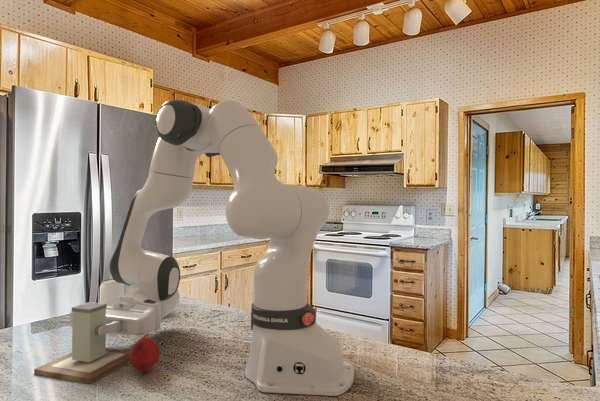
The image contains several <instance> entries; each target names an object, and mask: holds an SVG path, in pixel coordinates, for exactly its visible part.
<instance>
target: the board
mask: <svg viewBox="0 0 600 401" xmlns="http://www.w3.org/2000/svg"><path fill="white" fill-rule="evenodd" d="M130 351H131V350H125V349H118V348H111V347H106V354H105V355H103V356H101V357H99V358H97V359H95V360H93V361H91V362H85V361H79V360H72V352H70V353H68V354H66V355H63V356H61V357H58V358H57V359H54V360H52V361H50V362H48V363H45V364H42V365H40V366H39V367H35V368H34V369H33V371H34V372H33V374H34V375H38V376H42V375H43V376H44V377H48V376H49V377H50V378H54V379H55V378H56V379H60V380H61V379H62V380H67V381H72V382H78V383H84V384H93V383H94V382H96V381H97V380H99V379H101V378H103V377H105V376H107V375H108V374H110V373H112V372H114V371H116V370H117V369H120V368H121V367H123V366H125V365H126V364H128V363H130V359H129V354H130Z"/></svg>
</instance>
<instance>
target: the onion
mask: <svg viewBox="0 0 600 401" xmlns="http://www.w3.org/2000/svg"><path fill="white" fill-rule="evenodd" d="M129 351H130V354H129V359H130V362H129V363H130V365H131V367H132V368H133V369H134V370H136V371H138V372H140V373H143V374H146V373H148V372H149V371H150V370H151V369H153V367H154V366H155V365H156V364H158V361H159V359H160V355H161V352H160V351H161V350H160V346H159V345H158V344H157V342H156V341H155V340H153V339H151V338H150V334H149V333H147V334H144V335H141V338H140V339H138V340H137V341H136V342H135V343H133V345H132V347H131V349H130V350H129Z"/></svg>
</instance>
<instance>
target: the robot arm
mask: <svg viewBox="0 0 600 401" xmlns="http://www.w3.org/2000/svg"><path fill="white" fill-rule="evenodd" d="M154 124H155V130H156V134H157V136H158V139H157V141H156V144H155V147H154V151H153V154H152V157H151V162H150V166H149V171H148V177H147V179H146V182H145V184H144V185H143V187H142V188H141V189H139V190H137V191H136V192H135V193H134V196H133V198H132V200H131V203H130V205H129V208H128V211H127V215H126V216H125V221H124V222H123V223H124V224H123V226H122V230H121V233H120V236H119V239H118V243H117V246H116V248H115V249H114V252H113V254H112V255H111V258H110V261H109V266H108V268H109V273H110V275H111V277H112V278H111V279H114V280H115V281H116V282H117V283H122V284H124V285H126V284H128V285H134V286H137V287H139V290H138V291H137V292H134V293H131V294H128V295H126V294H124V296H122V297H119V298H118V299H117V300H116V301H115V302H114V304H113V306H107V308H106V324H105V325H99V326H96V327H95V335H101V336H102V335H104V334H113V333H118V334H125V335H134V336H143V335H144V334H147V333H148V334H149V333H152V332H153V331H154V332H155V331H157V330H160V329H161V324H162V319H163V318H164V317H166V316H168V315H169V314H170V313H172V312H173V311H174V310H175V309H176V307H177V306H178V304H179V303H180V295H181V294H180V290H179V289H178V288H179V285H180V283H181V270H180V265H179V263H178V261H177V259H176V258H175V257H174V256H170V255H166V254H164V253H159V252H156V251H155V252H154V251H151V250H146V249H143V248H142V245H141V244H142V240H143V238H144V235H145V231H146V228H147V224H148V222H149V219H150V218H151V216H152V215H154V214H155V213H157V212H160V211H164V210H169V209H174V208H177V207H179V206H180V205H182V204H183V203H185V202H186V201H187V200H188V198H189V197H190V195H191V193H192V188H193V185H194V177H195V168H196V167H195V166H196V162H197V160H198V159H199V157H200V156H202V155H205V156H206V157H207V158H212V157H215V156H220V157H221V159H222V160H223V163H224V164H225V167H226V169H227V171H228V173H229V175H230V177H231V179H232V184H233V191H232V192H231V193H230V195H229V196H228V199H227V202H226V206H225V217H226V222H227V224H228V226H229V228H230V230H231V231H232V232H233V233H234V234H236V235H237V236H238V237H239V236H240V237H243V238H244V237H245V238H248V239H254V240H266V239H267V240H268V239H270V240H269V243H268V246H267V248H266V251H265V252H264V254H263V255H262V256H261V257H260V258H259V259H258V261H257V262H256V263H255V266H254V268H253V302H252V303H251V307H250V309H251V311H250V329H251V340H250V341H251V342H250V348H249V355H248V359H247V362H246V366H245V369H244V375H245V377H246V378H247V379H248V380H249V381H250V382H252V383H253V384H254V385H255V386H256V388H257V390H258V391H259V392H262V393H273V394H294V395H295V394H297V395H309V396H310V395H311V396H330V397H331V396H332V397H334V396H335V397H337V396H340V395H342V394H344V393H346V392H347V391H349V389H350V388H351V387H352V385H353V383H354V380H355V369H354V367H353V365H352V364H351V363H350V362H347V361H345V360H344V356H343V355H344V354H343V350H342V346H341V344H340V342H339V340H337V338H335V337H334V336H332V335H331V334H330V333H329V332H327V331H326V330H325V329H324V328H323V327H322V326H321V325H320V324H318V323H317V313H318V312H317V310H318V307H317V306H315V307H313V306H312V305H310V304H309V303H308V300H307V298H308V296H307V295H308V271H309V264H310V258H311V254H312V252H313V248H314V244H315V242H316V239H317V236H318V234H319V232H320V231H321V229H322V228H323V227H324V226H325V225H326V223H327V221H328V219H329V215H330V206H329V203H328V199H327V198H326V197H325V195H324V193H322V192H321V191H319V190H317V189H314V188H312V187H310V186H307V185H300V184H299V185H298V184H284V183H282V182H281V181H280V180H279V179H278V178H277V176H276V174H275V170H276V167H277V165H278V163H279V157H278V156H279V155H278V153H277V151H276V150H275V148H274V147H273V145H272V143H271V141H270V139H268V137H267V135H266V134H265V131H264V130H263V129H262V127H261V126H260V123H259V122H257V120H256V119H255V118H254V116H253V115H252V114H251V113H250V111H249V110H248V109H247V108H246V107H245V106H244V105H243V104H241V103H240V102H238V101H236V100H233V99H226V100H222V101H219V102H218V103H216V104H215V105H213V107H211V108H209V107H207V106H205V105H201V104H198V103H194V102H190V101H187V100H183V99H169V100H166V101H165V102H164V103H163V104H162V105H161V106H160V107H159V108H158V110H157V113H156V115H155V121H154ZM68 315H69V316H68V321H69V322H68V325H69V327H70V328H72V310H71V311H70V312H69V314H68Z"/></svg>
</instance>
